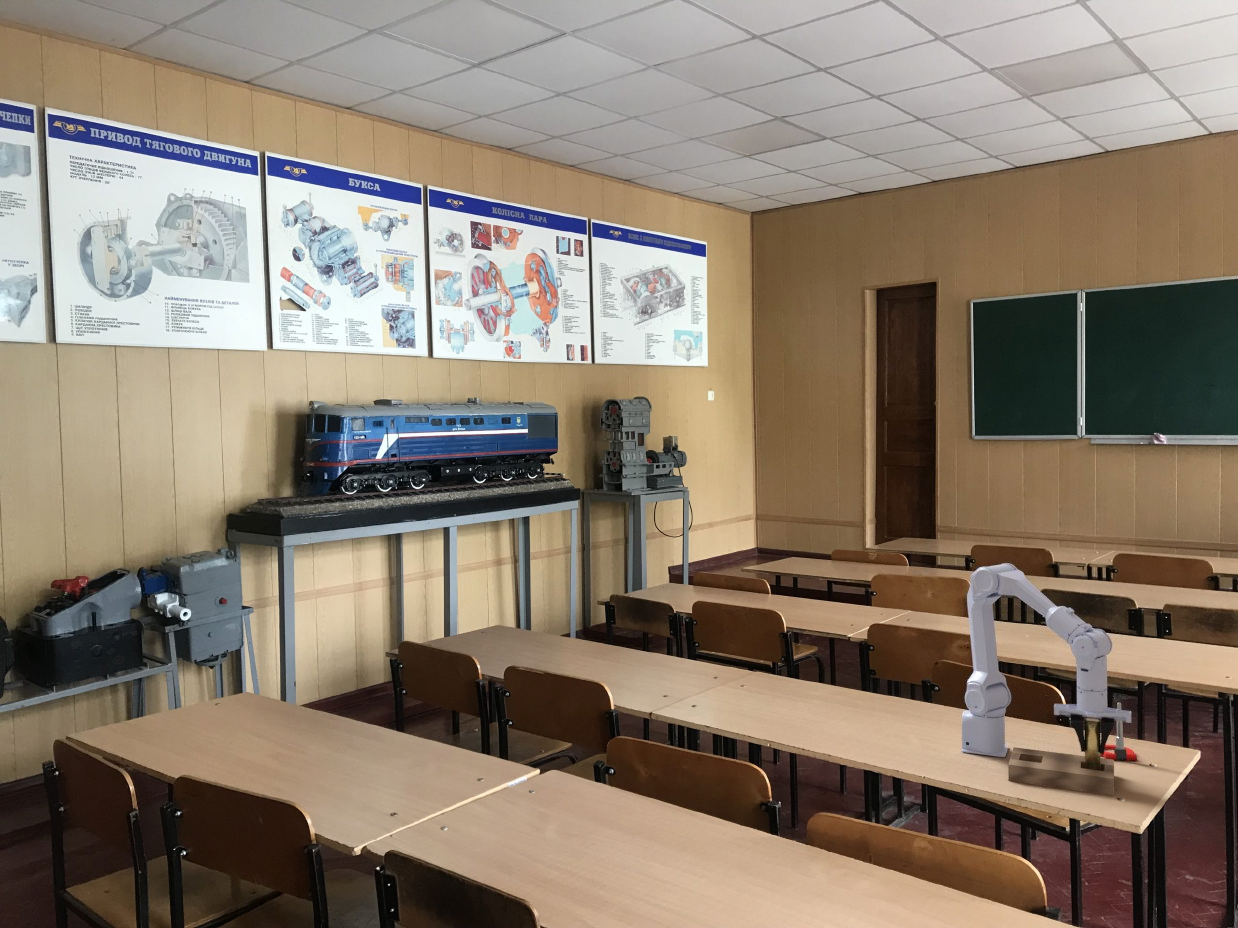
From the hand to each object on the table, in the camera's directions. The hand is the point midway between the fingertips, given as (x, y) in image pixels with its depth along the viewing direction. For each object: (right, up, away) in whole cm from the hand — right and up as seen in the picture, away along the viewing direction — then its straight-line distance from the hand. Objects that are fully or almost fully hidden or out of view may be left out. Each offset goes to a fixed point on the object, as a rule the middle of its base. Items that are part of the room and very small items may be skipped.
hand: (1092, 751), depth 198 cm
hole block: (-5, -7, +3) cm, 9 cm away
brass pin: (0, -3, 0) cm, 3 cm away
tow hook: (+14, -6, +17) cm, 22 cm away
